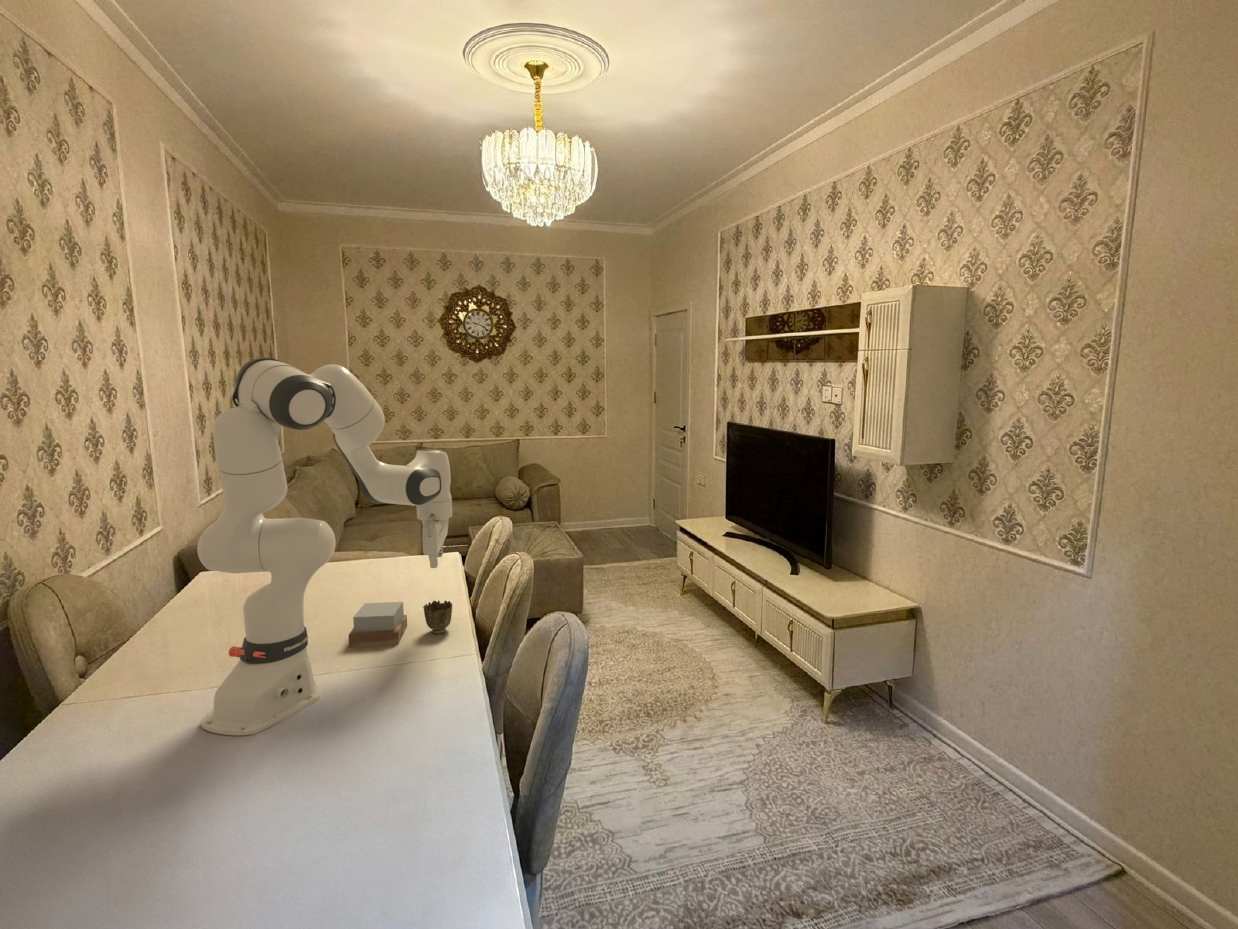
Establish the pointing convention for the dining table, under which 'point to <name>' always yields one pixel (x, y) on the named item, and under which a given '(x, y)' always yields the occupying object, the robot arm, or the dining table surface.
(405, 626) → the tower base
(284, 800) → the dining table surface
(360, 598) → the dining table surface
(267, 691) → the robot arm
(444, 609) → the cup
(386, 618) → the tower top
